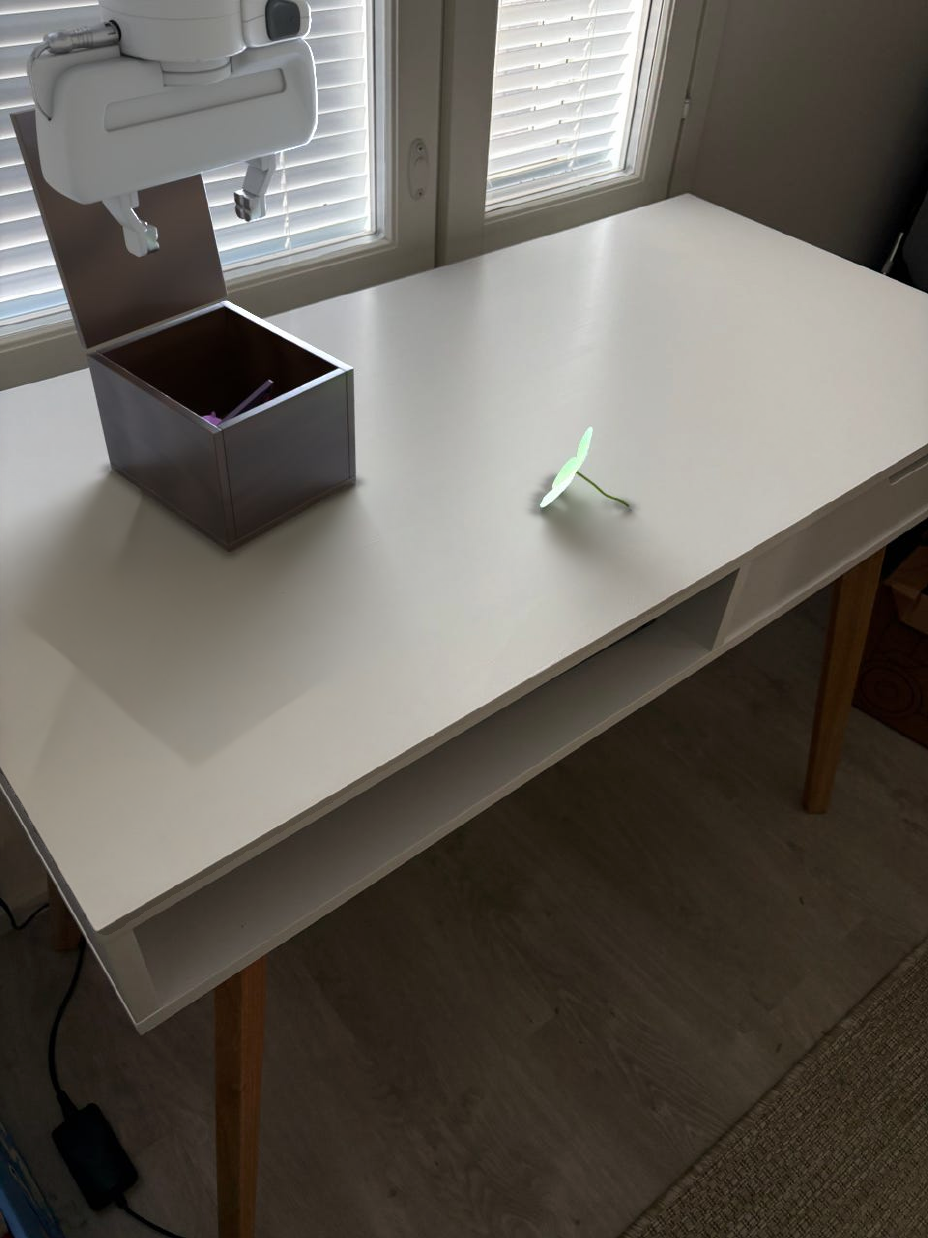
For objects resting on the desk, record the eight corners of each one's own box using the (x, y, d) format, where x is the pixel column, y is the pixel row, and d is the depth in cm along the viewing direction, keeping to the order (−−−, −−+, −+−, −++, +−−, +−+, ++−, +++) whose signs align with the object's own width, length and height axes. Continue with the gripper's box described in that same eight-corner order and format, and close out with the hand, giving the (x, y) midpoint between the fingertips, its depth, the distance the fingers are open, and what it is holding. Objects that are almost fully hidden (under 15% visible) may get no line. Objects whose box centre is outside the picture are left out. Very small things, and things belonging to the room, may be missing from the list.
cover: (181, 78, 75) (175, 77, 76) (14, 114, 68) (8, 113, 68) (228, 295, 85) (222, 294, 86) (87, 349, 77) (81, 347, 78)
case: (356, 481, 86) (353, 367, 79) (229, 553, 78) (213, 434, 71) (238, 410, 93) (226, 299, 86) (111, 469, 85) (85, 353, 78)
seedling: (584, 548, 89) (526, 506, 87) (633, 474, 89) (576, 430, 88) (615, 551, 82) (552, 504, 80) (668, 469, 82) (607, 421, 81)
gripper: (53, 49, 55) (98, 291, 64) (329, 2, 67) (333, 212, 76) (-10, 23, 58) (42, 259, 67) (266, -17, 69) (277, 188, 79)
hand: (199, 234), depth 72 cm, fingers open, 8 cm apart
